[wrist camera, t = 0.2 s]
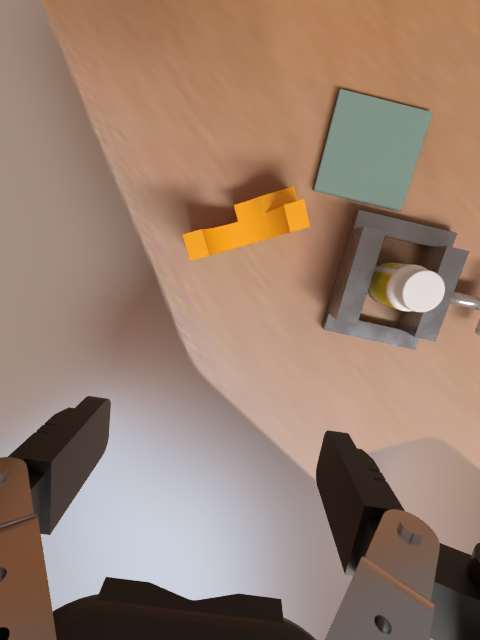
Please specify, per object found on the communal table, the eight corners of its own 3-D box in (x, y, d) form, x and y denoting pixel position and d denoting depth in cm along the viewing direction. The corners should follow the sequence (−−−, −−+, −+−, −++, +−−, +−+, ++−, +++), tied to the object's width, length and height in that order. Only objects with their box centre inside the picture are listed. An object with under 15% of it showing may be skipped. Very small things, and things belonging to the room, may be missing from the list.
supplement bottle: (380, 309, 39) (417, 326, 31) (356, 281, 38) (387, 290, 30) (412, 283, 38) (459, 293, 30) (389, 253, 37) (430, 255, 29)
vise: (356, 210, 36) (369, 206, 32) (504, 246, 37) (535, 246, 33) (322, 327, 39) (330, 336, 35) (460, 358, 40) (483, 370, 36)
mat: (338, 91, 34) (340, 88, 33) (429, 114, 34) (432, 112, 33) (313, 190, 36) (314, 189, 35) (398, 211, 36) (401, 210, 36)
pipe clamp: (289, 191, 36) (299, 179, 30) (298, 230, 37) (309, 226, 31) (187, 221, 37) (176, 216, 31) (199, 258, 38) (190, 260, 31)
